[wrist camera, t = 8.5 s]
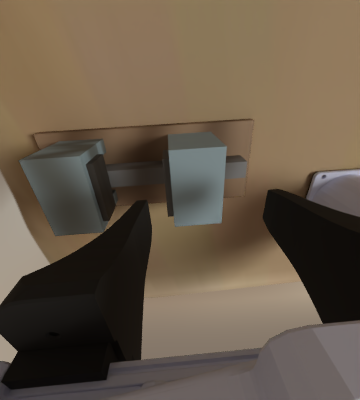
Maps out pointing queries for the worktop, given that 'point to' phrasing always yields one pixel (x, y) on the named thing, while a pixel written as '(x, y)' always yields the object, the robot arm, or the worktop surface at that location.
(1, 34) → the worktop surface
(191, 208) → the block
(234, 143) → the rail base
